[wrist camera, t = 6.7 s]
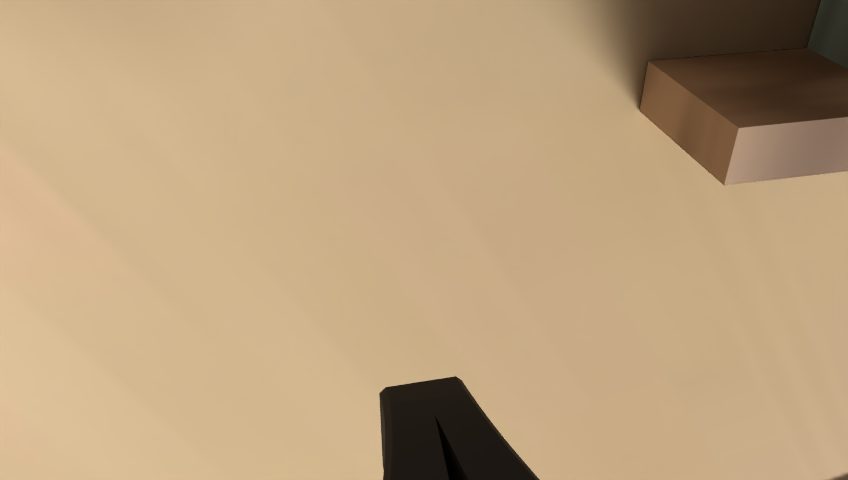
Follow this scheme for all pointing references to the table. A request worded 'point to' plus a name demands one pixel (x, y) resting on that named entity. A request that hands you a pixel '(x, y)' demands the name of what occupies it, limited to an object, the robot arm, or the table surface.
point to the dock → (759, 106)
